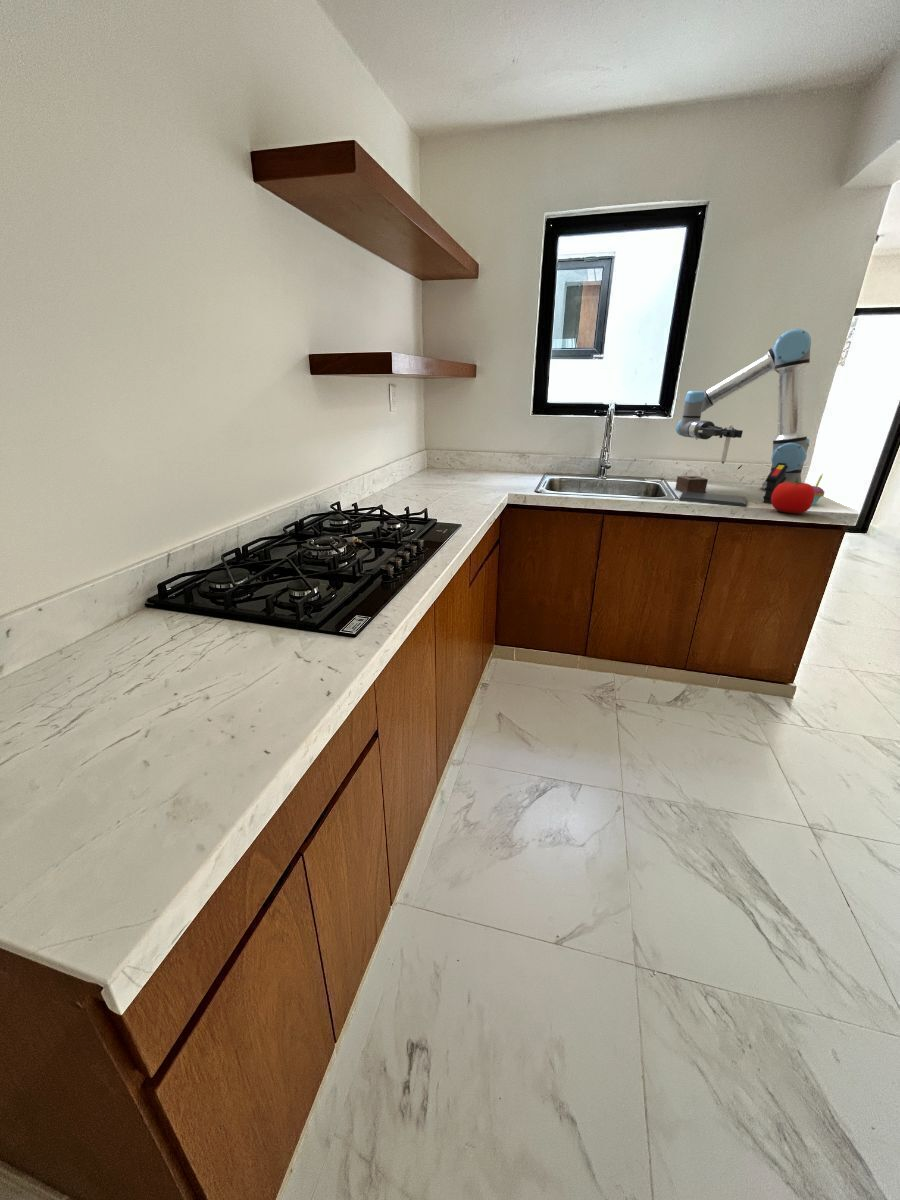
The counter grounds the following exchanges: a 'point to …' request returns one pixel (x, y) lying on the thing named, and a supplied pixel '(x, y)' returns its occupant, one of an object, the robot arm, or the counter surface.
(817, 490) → the cupcake
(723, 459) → the stylus
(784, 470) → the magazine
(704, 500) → the plate
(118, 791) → the counter surface
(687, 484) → the pen block
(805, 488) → the tomato
